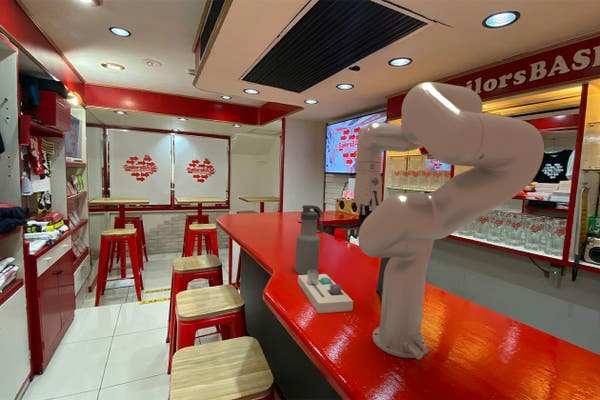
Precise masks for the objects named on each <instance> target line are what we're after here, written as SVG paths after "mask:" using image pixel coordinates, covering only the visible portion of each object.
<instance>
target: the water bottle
mask: <svg viewBox="0 0 600 400" xmlns="http://www.w3.org/2000/svg"><path fill="white" fill-rule="evenodd" d="M311 210H312V211H311ZM322 212H323V211H322V209H321V208H320V207H319V206H318V205H317V206H316V205H313V204H304V205H302V211H301V213H300V221H301V222H300V233H299V234H298V235H297V236H296V238H295V239H296V241H295V242H296V243H295V257H294V258H295V261H294V271H295V272H296V273H297V274H298V275H308V270H317V271H318V272H319V259H320V245H321V241H320V240H321V239H320V236H319V235H321V234H322V233H323V225H324V224H323V222H322V221H321V218H322V216H323V213H322ZM318 224H319V225H320V227H319V228H320V229H319V230H320V231H318V230H317V229H318V227H317V226H318ZM318 234H319V235H318Z"/></svg>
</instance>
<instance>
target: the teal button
mask: <svg viewBox="0 0 600 400" xmlns="http://www.w3.org/2000/svg"><path fill="white" fill-rule="evenodd" d="M329 278H330V277H329ZM329 278H321V284H322V285H327V284H331V280H332V278H330V279H329Z"/></svg>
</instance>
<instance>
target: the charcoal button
mask: <svg viewBox="0 0 600 400" xmlns="http://www.w3.org/2000/svg"><path fill="white" fill-rule="evenodd" d="M341 290H342V285H340V284H337V283H335V284H332V285H330V295H331V296H333V295H341Z"/></svg>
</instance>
